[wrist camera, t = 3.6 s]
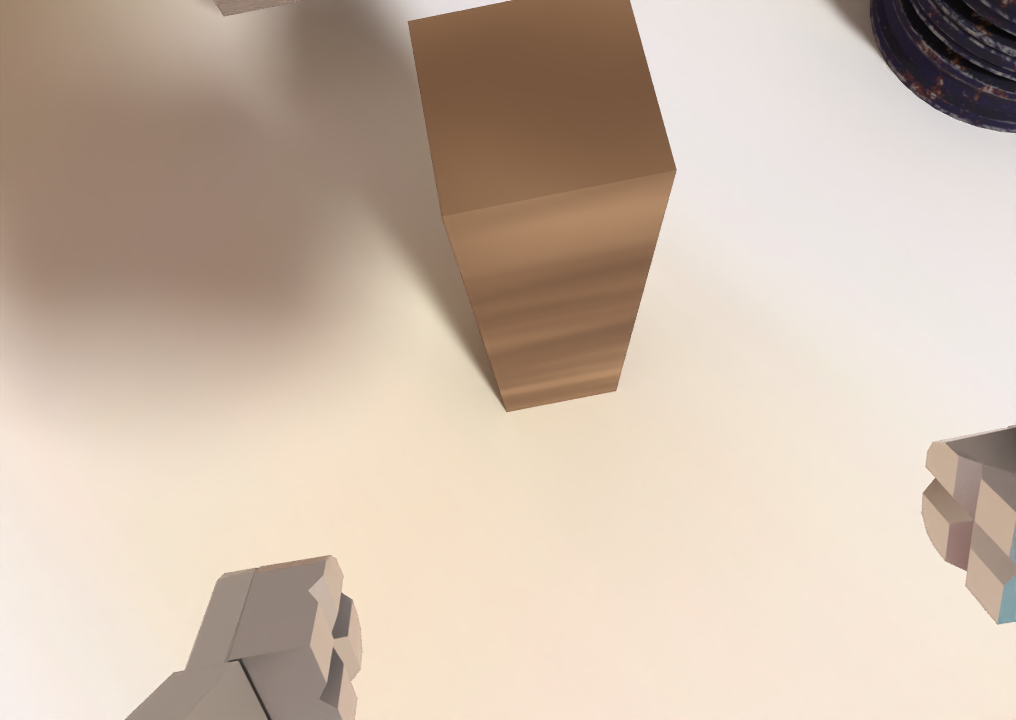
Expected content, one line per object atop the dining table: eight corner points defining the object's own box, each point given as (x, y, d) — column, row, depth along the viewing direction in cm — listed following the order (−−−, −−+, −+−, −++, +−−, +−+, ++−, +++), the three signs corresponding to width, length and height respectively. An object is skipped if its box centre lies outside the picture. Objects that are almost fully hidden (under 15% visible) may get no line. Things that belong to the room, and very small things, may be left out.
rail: (615, 390, 25) (676, 169, 12) (506, 412, 25) (441, 216, 12) (592, 288, 26) (623, -23, 13) (487, 309, 26) (408, 21, 13)
